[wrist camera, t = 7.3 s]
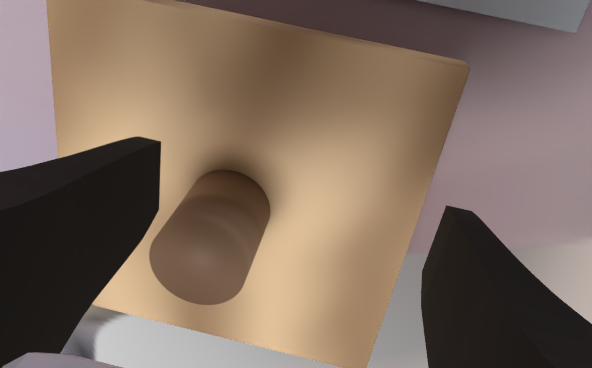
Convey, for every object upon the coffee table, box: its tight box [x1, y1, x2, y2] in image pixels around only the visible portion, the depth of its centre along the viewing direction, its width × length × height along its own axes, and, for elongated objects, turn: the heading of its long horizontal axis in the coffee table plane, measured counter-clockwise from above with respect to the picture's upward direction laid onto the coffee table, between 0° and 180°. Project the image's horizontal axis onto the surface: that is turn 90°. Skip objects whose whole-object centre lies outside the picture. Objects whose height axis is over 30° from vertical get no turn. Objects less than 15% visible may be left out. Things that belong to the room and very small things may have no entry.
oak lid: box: [46, 0, 470, 368], centre depth 17 cm, size 13×13×4 cm
